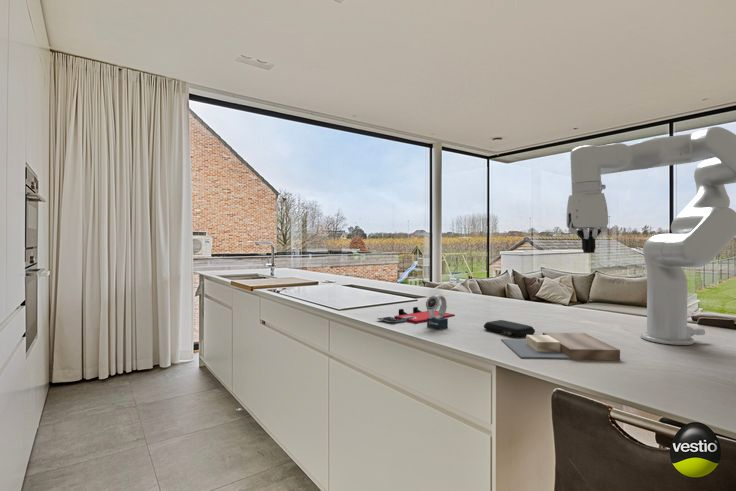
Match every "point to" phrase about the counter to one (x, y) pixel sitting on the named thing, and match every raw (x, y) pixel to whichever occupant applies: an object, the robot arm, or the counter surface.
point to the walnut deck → (585, 346)
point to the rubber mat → (531, 350)
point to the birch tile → (543, 343)
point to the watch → (434, 320)
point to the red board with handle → (413, 316)
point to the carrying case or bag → (509, 328)
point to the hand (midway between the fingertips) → (588, 252)
